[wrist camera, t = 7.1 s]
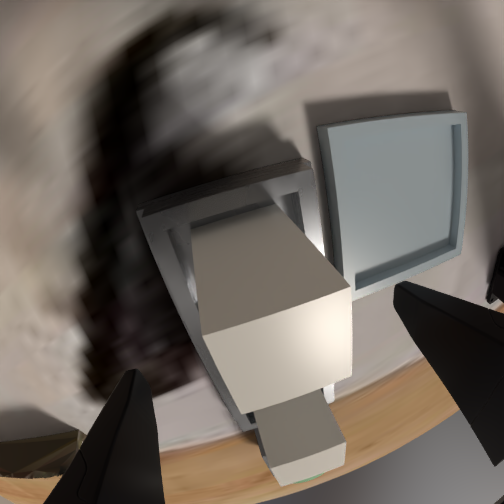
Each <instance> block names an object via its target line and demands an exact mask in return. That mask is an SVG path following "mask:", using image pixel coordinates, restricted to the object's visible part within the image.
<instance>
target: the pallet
mask: <svg viewBox="0 0 504 504" xmlns="http://www.w3.org/2000/svg"><path fill="white" fill-rule="evenodd" d="M273 204H277V205H278V206H279V207H280V209H281V210H282V211H283V212H284V213H285V214H286V215H287V216H288V217H289V218H290V219H291V220H292V221H293V222H294V224H295V225H296V226H297V227H298V228H299V229H300V230H301V231H302V232H303V233H304V234H305V235H306V237H307V238H308V239H309V240H310V241H311V242H312V243H313V244H314V245H315V246H316V247H317V249H318V250H319V251H320V252H321V253H322V254H323V255H324V256H325V254H324V245H323V237H322V229H321V221H320V213H319V206H318V199H317V192H316V185H315V178H314V172H313V168H312V167H311V161H309V160H306V159H304V158H299V159H295V160H291V161H286V162H282V163H278V164H274V165H270V166H266V167H262V168H258V169H255V170H251V171H247V172H243V173H240V174H236V175H232V176H229V177H225V178H222V179H218V180H215V181H211V182H208V183H205V184H201V185H198V186H195V187H191V188H188V189H185V190H182V191H178V192H175V193H172V194H169V195H166V196H163V197H160V198H157V199H154V200H151V201H148V202H145V203H142V204H139V206H138V208H137V210H136V213H137V215H138V218H139V221H140V223H141V226H142V228H143V231H144V233H145V236H146V239H147V241H148V244H149V246H150V249H151V251H152V253H153V256H154V258H155V261H156V263H157V265H158V268H159V270H160V273H161V275H162V277H163V280H164V282H165V284H166V286H167V289H168V291H169V293H170V295H171V298H172V300H173V302H174V304H175V306H176V309H177V311H178V313H179V315H180V317H181V319H182V321H183V323H184V326H185V328H186V330H187V332H188V334H189V336H190V338H191V340H192V342H193V344H194V346H195V348H196V350H197V352H198V354H199V356H200V358H201V360H202V362H203V364H204V366H205V368H206V370H207V371H208V373H209V375H210V377H211V379H212V381H213V383H214V385H215V386H216V388H217V390H218V392H219V394H220V396H221V397H222V399H223V401H224V403H225V405H226V406H227V408H228V410H229V412H230V413H231V415H232V417H233V419H234V420H236V421H237V423H238V424H239V426H240V428H241V430H242V431H243V432H244V431H248V430H251V429H255V428H258V426H257V423H256V419H255V416H254V412H253V411H252V412H249V413H246V414H241V413H240V411H239V409H238V407H237V405H236V403H235V401H234V399H233V398H232V396H231V394H230V392H229V390H228V388H227V386H226V384H225V382H224V380H223V378H222V376H221V374H220V372H219V370H218V368H217V366H216V364H215V362H214V360H213V358H212V356H211V354H210V352H209V350H208V347H207V345H206V343H205V341H204V339H203V337H202V331H201V324H200V316H199V308H198V300H197V291H196V282H195V273H194V263H193V253H192V242H191V231H190V229H193V228H196V227H199V226H203V225H206V224H209V223H212V222H216V221H219V220H222V219H225V218H229V217H232V216H235V215H239V214H242V213H245V212H249V211H252V210H256V209H259V208H262V207H266V206H269V205H273ZM320 389H321V391H322V393H323V395H324V397H325V399H326V401H327V403H328V404H329V403H331V402H334V383H333V384H331V385H328V386H326V387H323V388H320Z"/></svg>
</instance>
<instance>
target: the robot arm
mask: <svg viewBox="0 0 504 504" xmlns="http://www.w3.org/2000/svg"><path fill="white" fill-rule="evenodd" d="M497 299H499V300H501V301H502V302H503V303H504V247H503V248H502V249H501V250H500V252H499V254H498V259H497V263H496V268H495V272H494V276H493V280H492V284H491V288H490V291H489V295H488V298H487V302H488V303H489V304H491V303H493V302H494V301H496V300H497ZM393 305H394V308H395V310H396V312H397V313H398V315H399V317H400V318H401V320H402V322H403V324H404V325H405V327H406V329H407V331H408V332H409V334H410V336H411V337H412V339H413V341H414V342H415V344H416V345H417V347H418V348H419V349H420V351H421V352H422V354H423V355H424V356H425V358H426V359H427V361H428V362H429V363H430V365H431V366H432V368H433V369H434V371H435V372H436V374H437V375H438V377H439V378H440V379H441V381H442V382H443V384H444V385H445V387H446V388H447V390H448V391H449V393H450V394H451V396H452V397H453V399H454V401H455V402H456V404H457V405H458V407H459V408H460V410H461V411H462V413H463V415H464V416H465V418H466V419H467V421H468V423H469V424H470V425H471V428H472V429H473V431H474V433H475V434H476V436H477V438H478V439H479V441H480V443H481V444H482V446H483V448H484V450H485V451H486V453H487V455H488V456H489V458H490V460H491V462H492V464H493V465H494V466H497V465H498V464H499V463H500V462H501V461H503V460H504V314H503V313H500V312H497V311H494V310H491V309H488V308H485V307H483V306H480V305H477V304H474V303H471V302H468V301H465V300H462V299H459V298H456V297H453V296H450V295H447V294H444V293H441V292H438V291H435V290H432V289H429V288H426V287H423V286H420V285H417V284H414V283H411V282H408V281H402V282H400V283H398V284H396V285H395V287H394V299H393ZM43 504H165V499H164V492H163V484H162V475H161V466H160V455H159V444H158V432H157V424H156V418H155V413H154V407H153V401H152V395H151V389H150V386H149V383H148V382H147V381H146V379H145V378H144V376H143V375H142V374H141V372H140V371H139V370H138V369H132V370H128V371H126V372H125V373H124V375H123V376H122V378H121V379H120V381H119V383H118V384H117V386H116V388H115V389H114V391H113V392H112V394H111V396H110V397H109V399H108V401H107V402H106V404H105V406H104V407H103V409H102V411H101V412H100V414H99V416H98V417H97V419H96V421H95V422H94V424H93V426H92V427H91V429H90V431H89V433H88V434H87V436H86V438H85V439H84V441H83V443H82V445H81V446H80V449H79V450H78V451H77V453H76V455H75V457H74V458H73V460H72V462H71V463H70V465H69V467H68V468H67V470H66V471H65V473H64V474H63V476H62V477H61V479H60V480H59V482H58V483H57V485H56V486H55V488H54V489H53V490H52V492H51V493H50V495H49V496H48V498H47V499H46V501H45V502H44V503H43ZM495 504H504V495H503V496H502V497H501V498H500V499H499V500H498V501H497V502H495Z"/></svg>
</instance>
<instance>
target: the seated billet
mask: <svg viewBox="0 0 504 504" xmlns="http://www.w3.org/2000/svg"><path fill="white" fill-rule="evenodd" d="M253 412H254V416H255V419H256V423H257V426H258V430H259V433H260V437H261V440H262V443H263V447H264V450H265V453H266V457H267V460H268V463H269V467H270V469H271V471H272V472H273V474H274V476H275V477H276V479H277V481H278V482H279V484H280V486H281V487H282V486H285V485H289V484H292V483H295V482H298V481H301V480H304V479H307V478H310V477H313V476H316V475H319V474H322V473H324V472H327V471H330V470H332V469H335V468H337V467H340V466H342V465H344V460H345V450H346V440H345V438H344V436H343V434H342V432H341V430H340V428H339V426H338V424H337V422H336V420H335V418H334V416H333V414H332V412H331V409H330V407H329V405H328V403H327V401H326V399H325V397H324V395H323V393H322V391H321V389H318V390H315V391H313V392H310V393H307V394H304V395H302V396H299V397H296V398H293V399H290V400H287V401H284V402H281V403H278V404H275V405H272V406H269V407H266V408H263V409H259V410H256V411H253Z"/></svg>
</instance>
